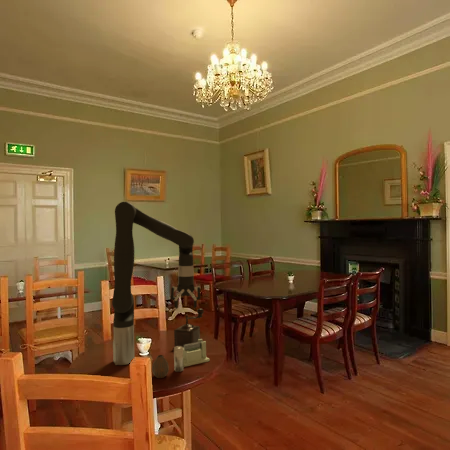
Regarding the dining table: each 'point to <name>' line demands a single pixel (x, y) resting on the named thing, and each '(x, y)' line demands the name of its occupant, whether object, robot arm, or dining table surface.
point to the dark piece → (187, 332)
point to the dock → (195, 355)
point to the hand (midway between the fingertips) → (185, 308)
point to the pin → (192, 345)
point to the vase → (160, 367)
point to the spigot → (178, 358)
